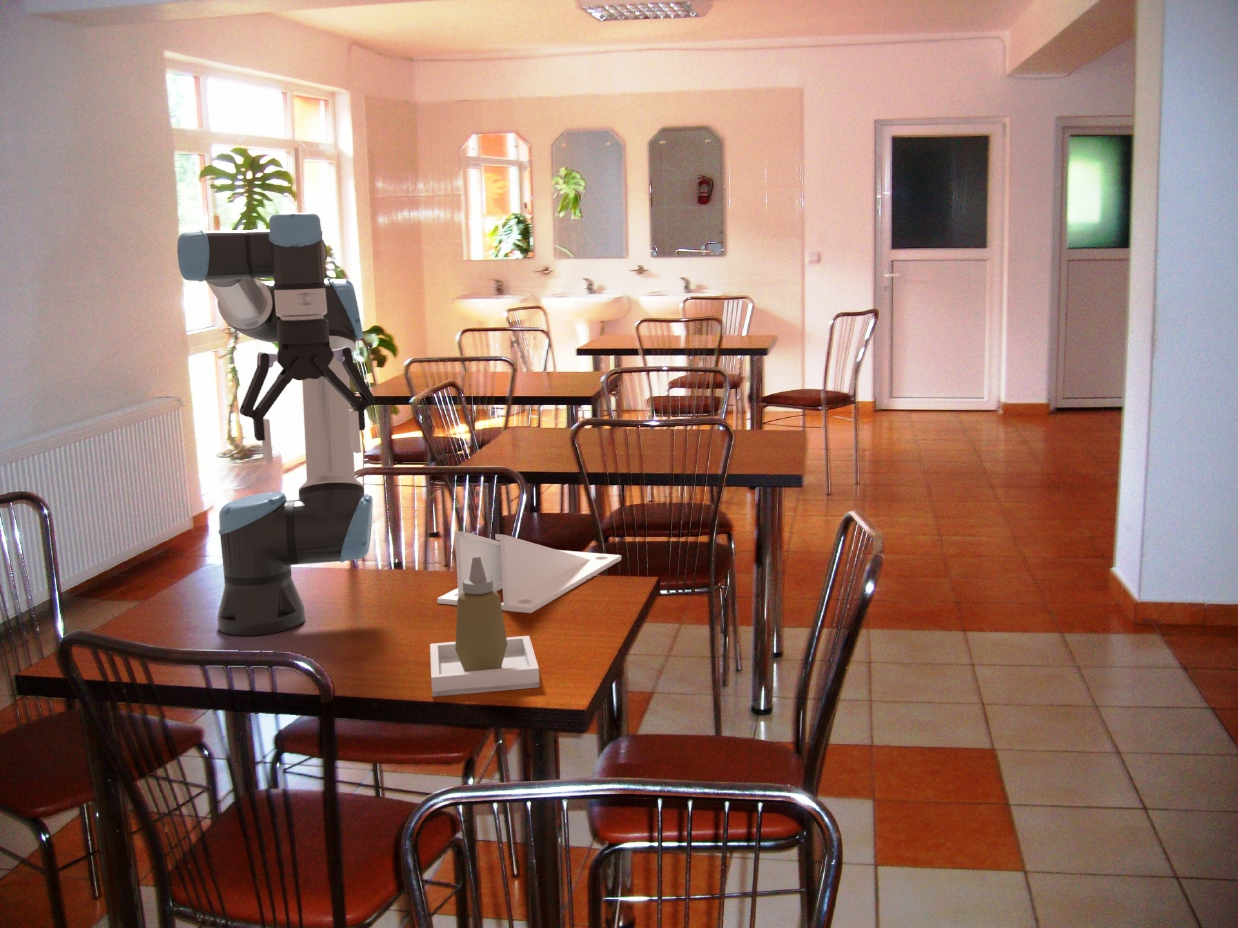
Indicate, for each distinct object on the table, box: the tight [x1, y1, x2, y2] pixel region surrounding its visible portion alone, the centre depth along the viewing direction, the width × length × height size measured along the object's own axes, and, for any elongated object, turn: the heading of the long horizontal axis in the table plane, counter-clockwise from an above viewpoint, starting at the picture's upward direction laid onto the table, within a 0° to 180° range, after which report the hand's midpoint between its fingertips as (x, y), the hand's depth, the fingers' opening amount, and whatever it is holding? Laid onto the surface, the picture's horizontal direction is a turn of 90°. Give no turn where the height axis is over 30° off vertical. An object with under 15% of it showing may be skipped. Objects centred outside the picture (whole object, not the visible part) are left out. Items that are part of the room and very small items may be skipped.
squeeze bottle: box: [455, 556, 507, 672], centre depth 185 cm, size 8×8×18 cm
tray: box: [429, 635, 541, 698], centre depth 187 cm, size 16×16×3 cm
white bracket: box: [436, 530, 622, 614], centre depth 239 cm, size 20×14×40 cm
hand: (312, 456), depth 184 cm, fingers open, 13 cm apart
